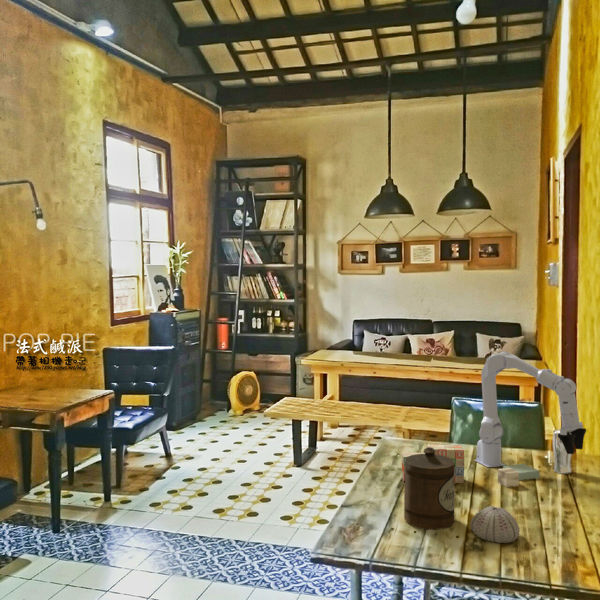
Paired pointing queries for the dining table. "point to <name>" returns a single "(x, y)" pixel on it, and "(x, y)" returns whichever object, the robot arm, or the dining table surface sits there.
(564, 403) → the robot arm
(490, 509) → the sea urchin shell
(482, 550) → the dining table surface
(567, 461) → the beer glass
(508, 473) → the ash cube
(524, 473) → the green slab
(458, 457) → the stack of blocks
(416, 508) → the wooden container
